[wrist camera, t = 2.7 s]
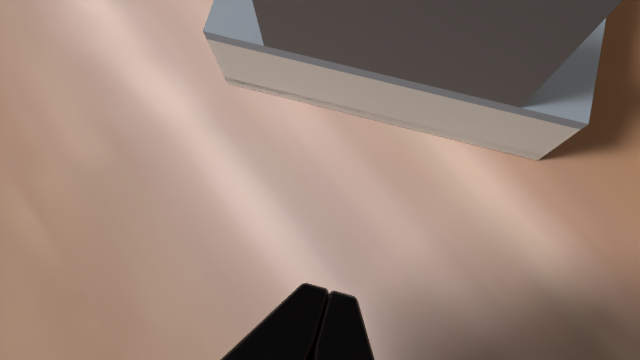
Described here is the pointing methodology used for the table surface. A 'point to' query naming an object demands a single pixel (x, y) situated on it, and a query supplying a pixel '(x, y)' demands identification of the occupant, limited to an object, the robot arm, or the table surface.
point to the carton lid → (439, 46)
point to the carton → (389, 102)
